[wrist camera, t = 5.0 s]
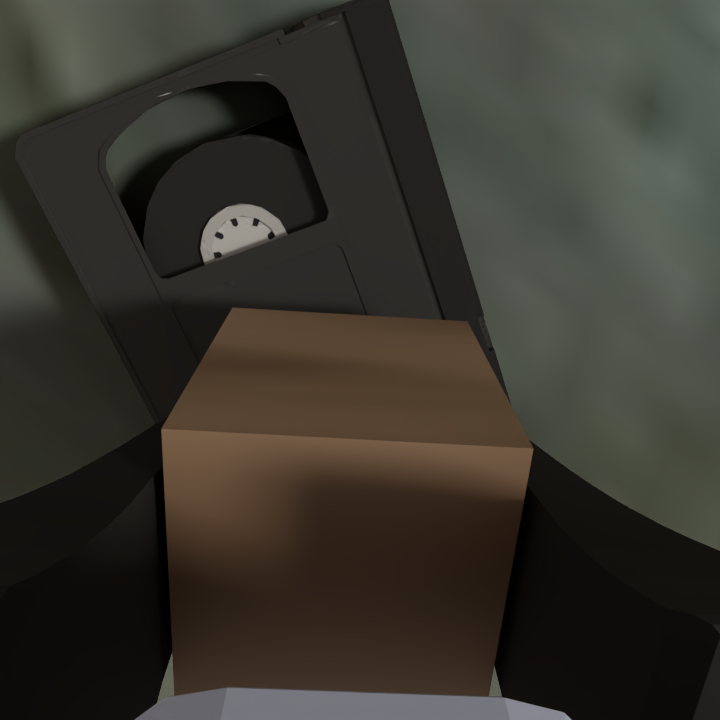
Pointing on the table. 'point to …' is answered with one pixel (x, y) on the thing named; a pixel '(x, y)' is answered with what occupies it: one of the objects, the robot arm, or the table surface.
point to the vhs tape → (264, 203)
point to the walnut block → (341, 506)
